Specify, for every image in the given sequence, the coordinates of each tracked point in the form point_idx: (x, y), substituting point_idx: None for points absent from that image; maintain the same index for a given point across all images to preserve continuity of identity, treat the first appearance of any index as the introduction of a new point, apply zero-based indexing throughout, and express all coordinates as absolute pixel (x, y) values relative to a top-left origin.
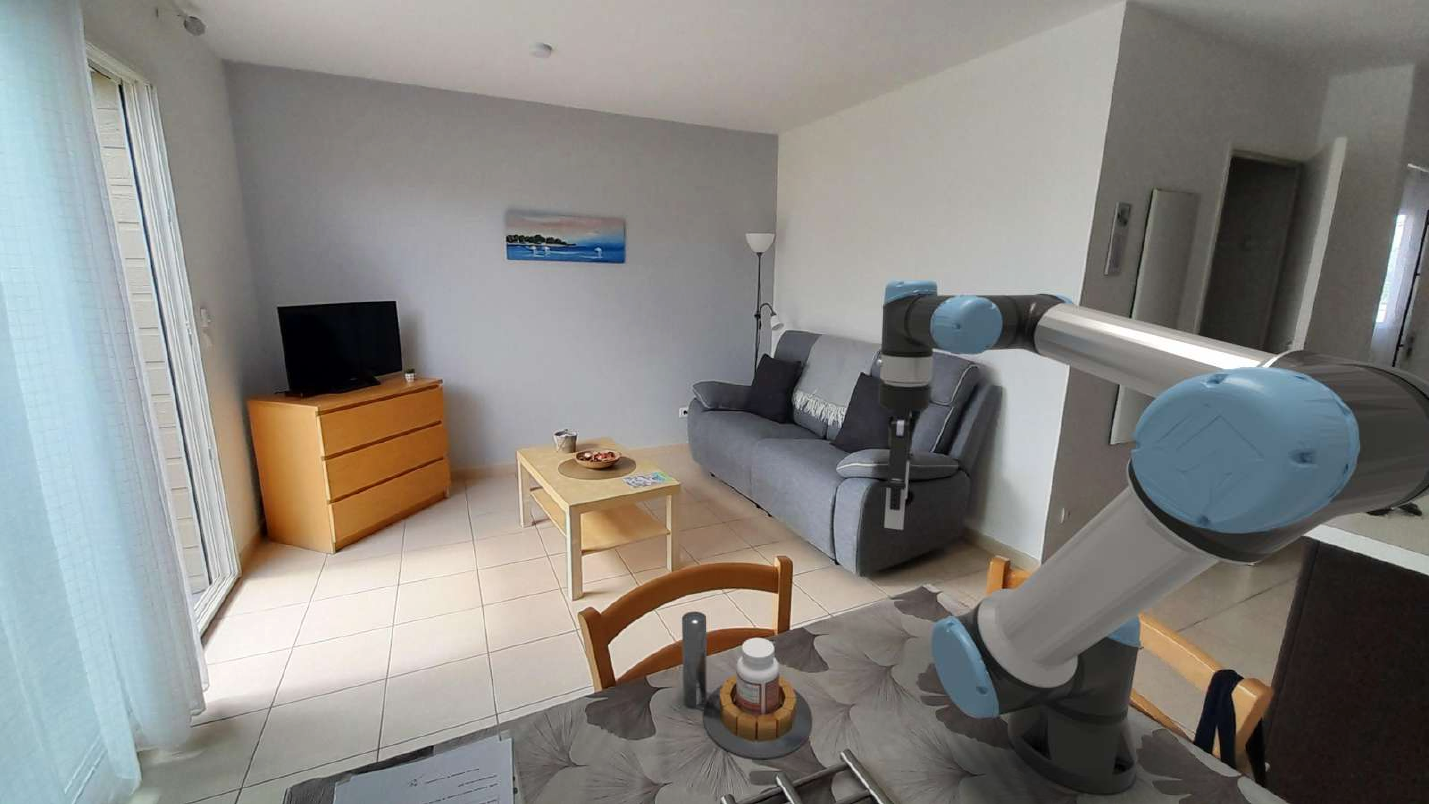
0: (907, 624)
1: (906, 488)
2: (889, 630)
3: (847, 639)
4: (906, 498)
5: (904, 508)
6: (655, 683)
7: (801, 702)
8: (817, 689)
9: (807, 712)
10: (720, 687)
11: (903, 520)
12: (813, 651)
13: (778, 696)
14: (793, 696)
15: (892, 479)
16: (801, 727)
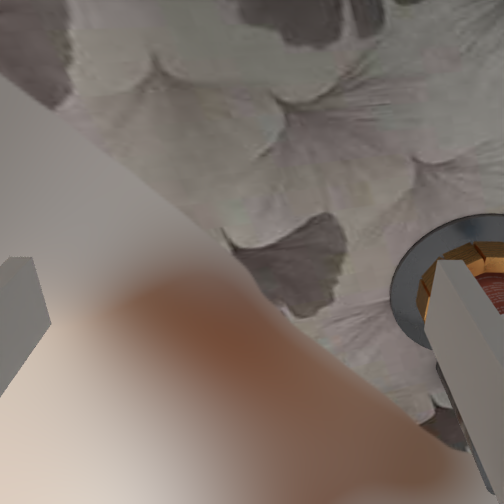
0: (113, 79)
1: (2, 293)
2: (156, 117)
3: (224, 193)
4: (31, 260)
5: (481, 323)
6: (428, 412)
7: (438, 239)
8: (388, 220)
9: (461, 227)
10: (428, 347)
11: (480, 287)
12: (285, 243)
13: (495, 284)
14: (482, 262)
15: (2, 387)
16: (497, 229)
